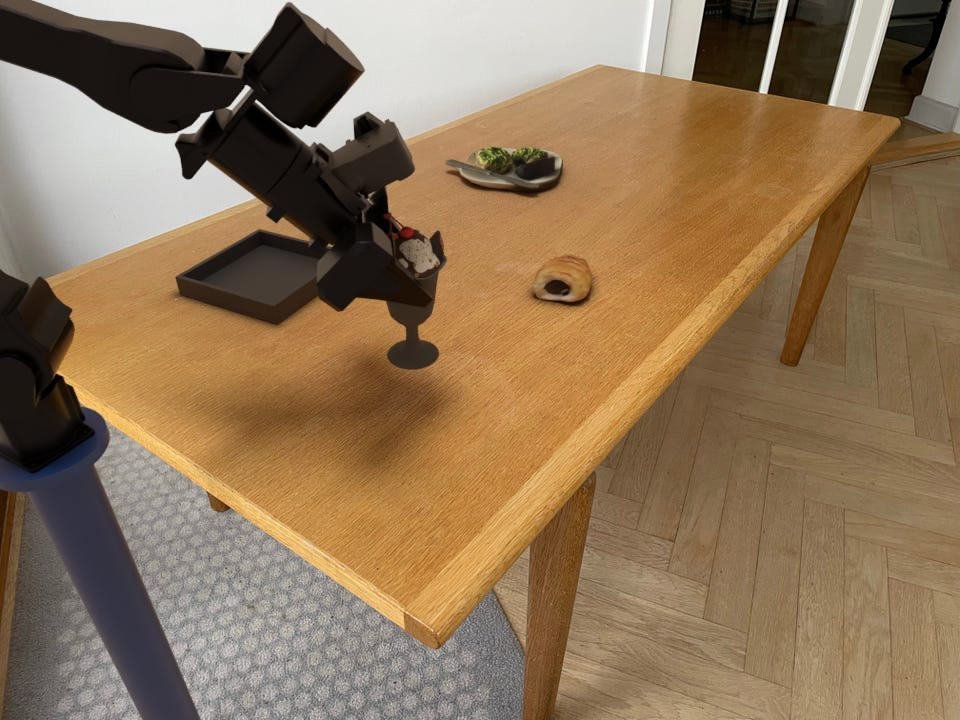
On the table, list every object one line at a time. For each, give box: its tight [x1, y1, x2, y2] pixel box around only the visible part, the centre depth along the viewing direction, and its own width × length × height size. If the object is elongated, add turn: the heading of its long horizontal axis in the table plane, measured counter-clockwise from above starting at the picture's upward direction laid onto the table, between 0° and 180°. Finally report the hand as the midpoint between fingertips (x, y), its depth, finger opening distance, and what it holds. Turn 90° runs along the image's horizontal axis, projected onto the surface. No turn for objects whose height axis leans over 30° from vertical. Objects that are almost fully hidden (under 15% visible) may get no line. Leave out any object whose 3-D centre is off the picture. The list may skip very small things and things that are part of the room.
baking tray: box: [175, 228, 332, 325], centre depth 91 cm, size 15×15×2 cm
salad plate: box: [444, 145, 564, 193], centre depth 120 cm, size 19×18×5 cm
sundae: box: [383, 211, 448, 371], centre depth 64 cm, size 7×7×15 cm
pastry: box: [531, 253, 593, 303], centre depth 90 cm, size 9×7×4 cm
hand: (425, 284), depth 64 cm, fingers closed on sundae, 6 cm apart
